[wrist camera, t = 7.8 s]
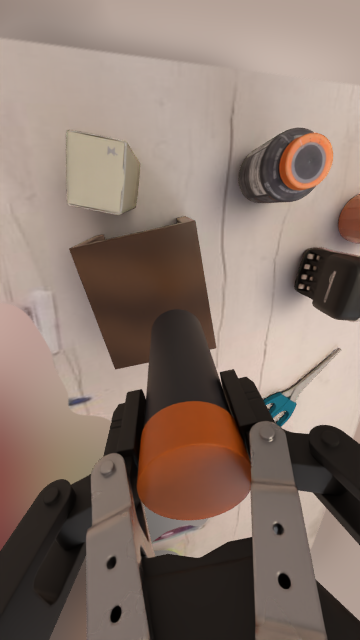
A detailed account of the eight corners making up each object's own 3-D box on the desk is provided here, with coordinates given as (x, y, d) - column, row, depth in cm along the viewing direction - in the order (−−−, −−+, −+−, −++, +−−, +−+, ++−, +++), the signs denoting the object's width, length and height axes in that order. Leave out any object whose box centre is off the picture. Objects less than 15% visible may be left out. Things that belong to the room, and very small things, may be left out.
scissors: (247, 420, 46) (329, 340, 40) (245, 416, 47) (325, 337, 41) (272, 434, 48) (354, 359, 42) (270, 430, 49) (350, 356, 43)
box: (103, 154, 29) (63, 121, 17) (141, 163, 29) (128, 136, 18) (101, 205, 31) (64, 205, 19) (137, 211, 32) (122, 216, 20)
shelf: (94, 236, 32) (68, 248, 23) (185, 216, 32) (195, 220, 23) (126, 330, 38) (115, 369, 29) (203, 314, 38) (216, 348, 29)
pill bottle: (295, 165, 30) (362, 145, 20) (266, 212, 33) (314, 215, 22) (255, 136, 29) (306, 98, 19) (227, 187, 31) (260, 178, 21)
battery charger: (300, 244, 35) (359, 260, 24) (326, 246, 35) (395, 264, 25) (286, 292, 37) (334, 326, 27) (310, 294, 38) (366, 328, 27)
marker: (143, 314, 19) (120, 459, 8) (197, 302, 19) (248, 432, 8) (157, 360, 21) (153, 529, 10) (207, 349, 21) (258, 508, 10)
